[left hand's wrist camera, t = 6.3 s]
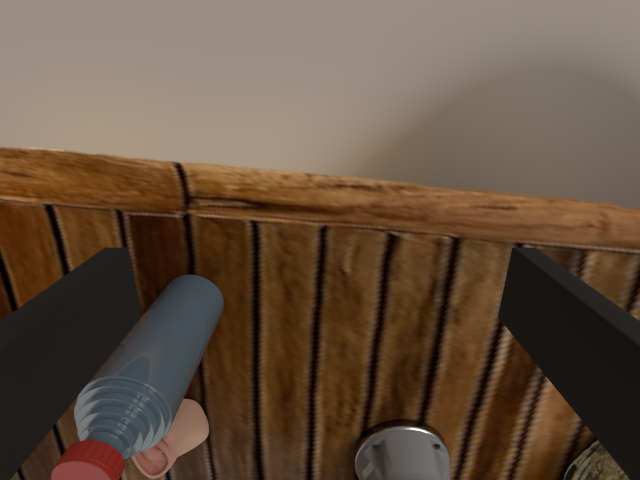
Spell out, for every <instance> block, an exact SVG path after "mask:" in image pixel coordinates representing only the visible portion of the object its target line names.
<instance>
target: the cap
mask: <svg viewBox="0 0 640 480" xmlns="http://www.w3.org/2000/svg"><path fill="white" fill-rule="evenodd" d="M124 466H125V465H124V460H123V457H122V456H121V454H120V453H119V452H118V451H117V450H116V449H115V448H114V447H112V446H110V445H108V444H106V443H104V442H100V441H96V440H83V441H79V442H76V443H74V444H73V445H71V446H70V447H69V448H68V449H67V450H66V451H65V453H64V454H63V455H62V457H61V458H60V460H59V461H58V462H57V464H56V467H55V468H54V470H53V471H52V474H51V480H119V479H120V477H121V475H122V473H123V469H124Z"/></svg>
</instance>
